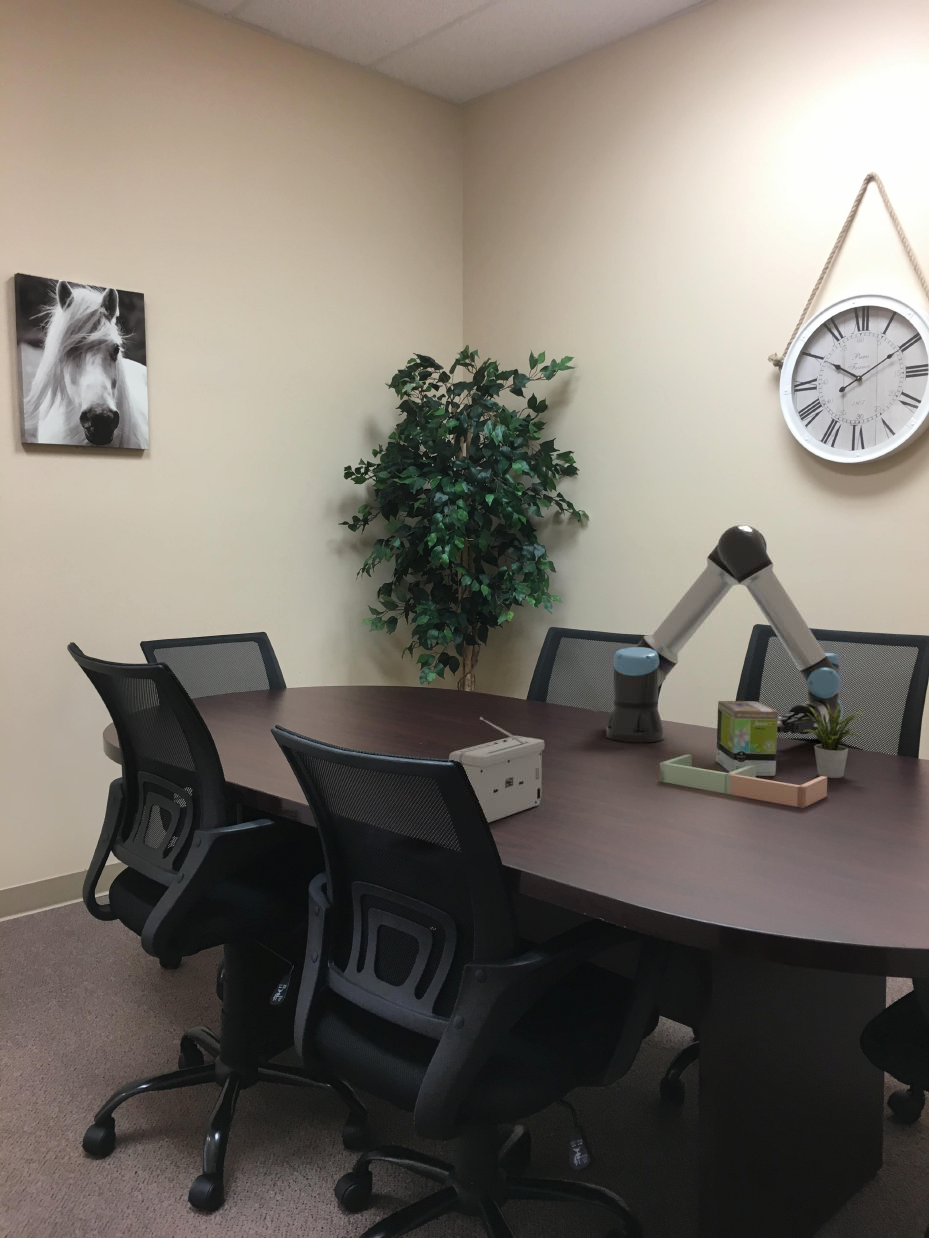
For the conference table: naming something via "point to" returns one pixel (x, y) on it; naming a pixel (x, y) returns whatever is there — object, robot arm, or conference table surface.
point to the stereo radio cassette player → (504, 773)
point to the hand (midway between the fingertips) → (767, 730)
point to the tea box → (747, 736)
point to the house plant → (831, 743)
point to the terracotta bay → (779, 790)
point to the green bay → (699, 775)
